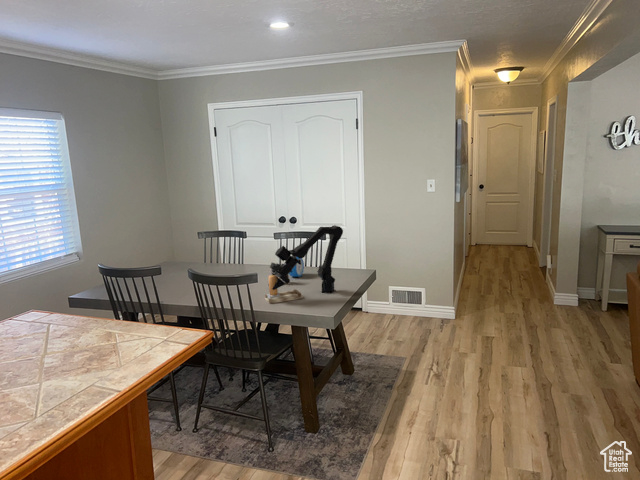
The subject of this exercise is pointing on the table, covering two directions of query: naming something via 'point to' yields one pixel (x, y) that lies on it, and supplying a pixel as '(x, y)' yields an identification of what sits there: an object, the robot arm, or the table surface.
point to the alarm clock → (297, 268)
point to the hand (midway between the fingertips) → (270, 287)
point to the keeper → (271, 283)
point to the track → (285, 296)
